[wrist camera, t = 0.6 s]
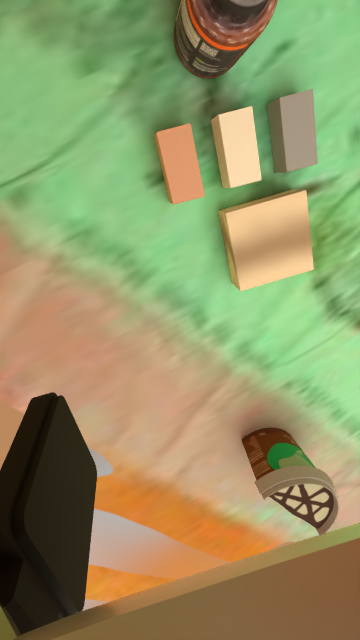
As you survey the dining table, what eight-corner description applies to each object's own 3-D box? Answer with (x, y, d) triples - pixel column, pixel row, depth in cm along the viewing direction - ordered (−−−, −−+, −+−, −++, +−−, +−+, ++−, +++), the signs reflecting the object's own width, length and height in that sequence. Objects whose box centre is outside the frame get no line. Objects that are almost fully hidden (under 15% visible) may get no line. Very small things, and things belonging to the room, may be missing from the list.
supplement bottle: (238, -9, 28) (304, -122, 18) (242, 77, 30) (301, 22, 20) (167, -3, 27) (192, -115, 17) (176, 84, 30) (203, 32, 19)
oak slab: (217, 210, 34) (225, 213, 32) (291, 189, 35) (306, 190, 32) (232, 283, 38) (240, 291, 35) (300, 263, 38) (313, 269, 35)
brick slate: (266, 104, 32) (279, 97, 29) (296, 97, 32) (312, 89, 29) (274, 172, 34) (286, 172, 31) (302, 165, 34) (317, 163, 31)
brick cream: (210, 120, 31) (218, 114, 29) (241, 112, 31) (251, 106, 29) (222, 187, 34) (230, 188, 31) (250, 180, 34) (261, 179, 31)
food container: (319, 448, 49) (362, 508, 40) (288, 474, 51) (323, 538, 41) (267, 405, 45) (303, 462, 36) (234, 434, 46) (260, 497, 37)
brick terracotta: (153, 136, 31) (156, 132, 28) (185, 128, 31) (190, 123, 29) (169, 202, 34) (173, 204, 31) (198, 194, 34) (204, 196, 31)
